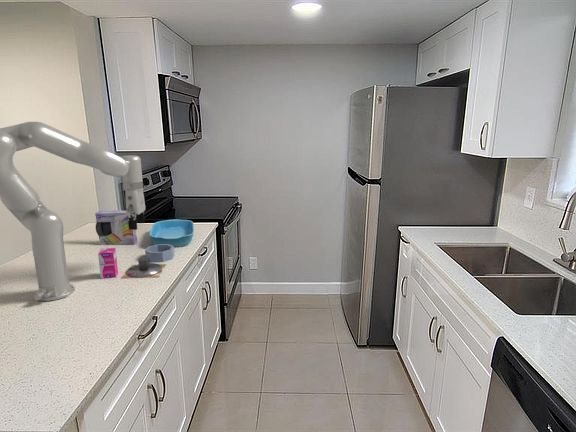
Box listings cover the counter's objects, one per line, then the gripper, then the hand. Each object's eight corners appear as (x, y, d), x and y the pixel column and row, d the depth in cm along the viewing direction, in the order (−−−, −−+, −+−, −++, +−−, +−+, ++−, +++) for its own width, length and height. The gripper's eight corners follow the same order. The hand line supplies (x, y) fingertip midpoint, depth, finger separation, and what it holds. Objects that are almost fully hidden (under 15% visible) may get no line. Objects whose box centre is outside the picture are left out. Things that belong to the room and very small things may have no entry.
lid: (157, 276, 151) (157, 265, 150) (122, 277, 149) (121, 266, 148) (165, 264, 164) (164, 253, 163) (132, 265, 163) (131, 254, 161)
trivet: (158, 278, 150) (158, 277, 150) (120, 279, 149) (120, 278, 149) (166, 264, 165) (166, 263, 165) (131, 265, 163) (131, 264, 163)
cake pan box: (97, 245, 190) (93, 212, 186) (101, 242, 195) (97, 209, 191) (134, 245, 191) (131, 212, 186) (138, 242, 196) (135, 210, 191)
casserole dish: (195, 249, 187) (194, 235, 185) (148, 252, 182) (147, 238, 180) (193, 229, 222) (193, 218, 220) (154, 231, 216) (154, 220, 214)
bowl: (171, 262, 168) (170, 252, 166) (143, 263, 166) (142, 252, 165) (175, 253, 179) (175, 244, 178) (150, 254, 178) (149, 244, 177)
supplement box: (100, 279, 148) (97, 253, 145) (103, 274, 154) (100, 248, 151) (116, 278, 150) (113, 252, 147) (118, 273, 155) (115, 247, 152)
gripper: (135, 189, 142) (139, 232, 146) (148, 182, 159) (152, 220, 163) (115, 189, 142) (120, 232, 146) (131, 182, 158) (134, 221, 163)
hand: (137, 226), depth 154 cm, fingers open, 9 cm apart
